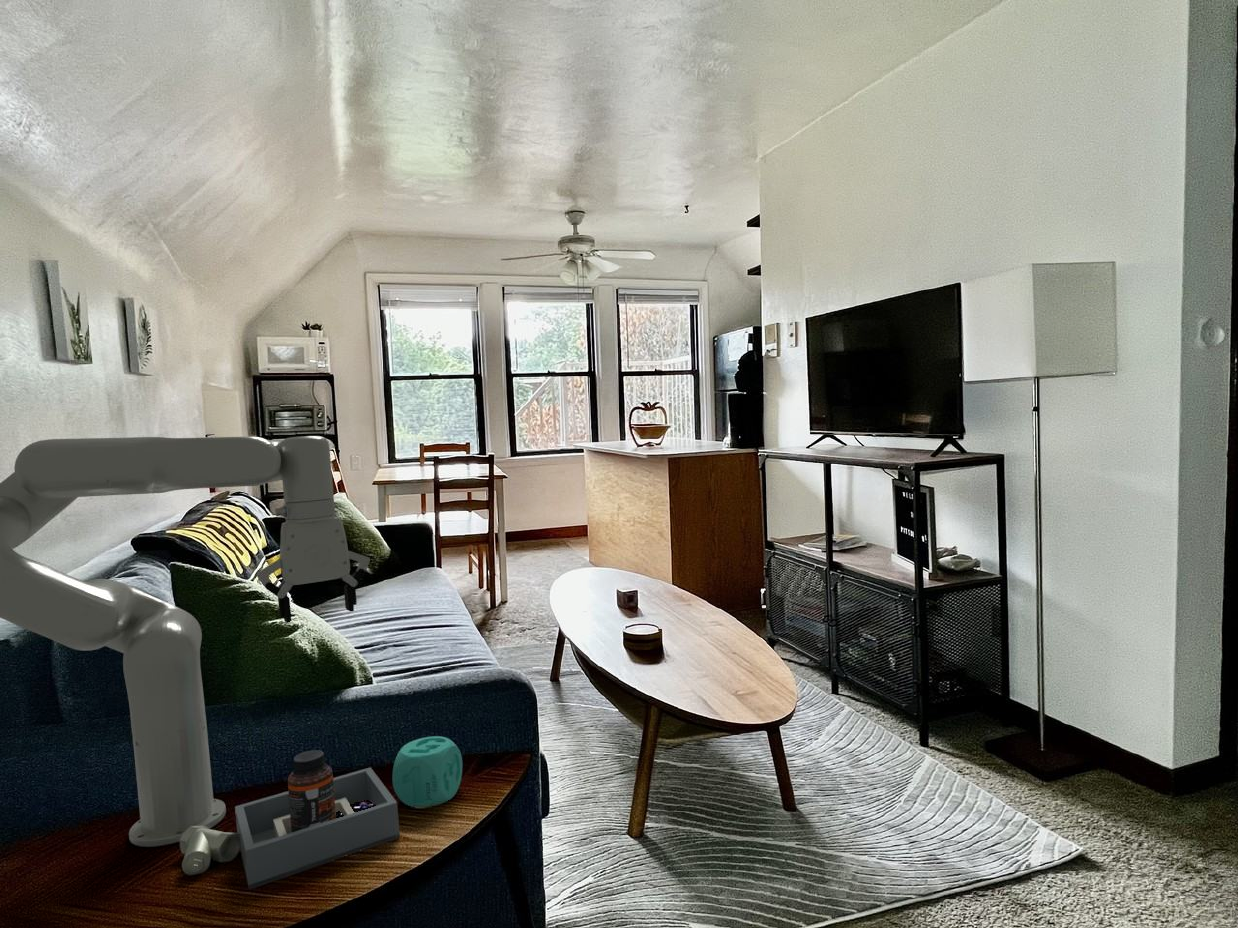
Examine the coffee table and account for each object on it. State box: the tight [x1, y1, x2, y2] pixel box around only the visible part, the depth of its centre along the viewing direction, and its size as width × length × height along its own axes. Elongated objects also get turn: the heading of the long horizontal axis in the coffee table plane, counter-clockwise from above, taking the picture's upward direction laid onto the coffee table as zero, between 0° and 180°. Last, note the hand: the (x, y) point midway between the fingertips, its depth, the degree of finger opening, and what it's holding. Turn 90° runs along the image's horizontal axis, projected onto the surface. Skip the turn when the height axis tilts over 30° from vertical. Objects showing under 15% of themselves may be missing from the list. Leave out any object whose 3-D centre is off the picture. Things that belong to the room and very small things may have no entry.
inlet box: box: [234, 766, 401, 891], centre depth 104 cm, size 15×19×5 cm
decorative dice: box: [391, 735, 463, 808], centre depth 115 cm, size 8×8×8 cm
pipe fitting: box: [179, 826, 241, 876], centre depth 101 cm, size 8×4×7 cm
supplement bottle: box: [287, 749, 336, 832], centre depth 105 cm, size 6×6×11 cm
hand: (319, 615), depth 121 cm, fingers open, 9 cm apart
